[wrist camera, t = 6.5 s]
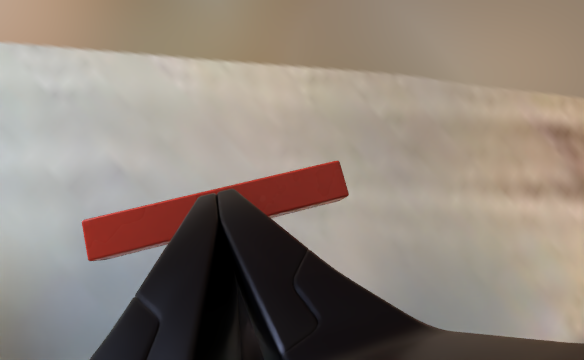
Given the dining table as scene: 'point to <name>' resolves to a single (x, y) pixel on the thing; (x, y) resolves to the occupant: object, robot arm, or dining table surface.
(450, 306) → the dining table surface
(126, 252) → the lever
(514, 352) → the robot arm
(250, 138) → the dining table surface
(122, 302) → the dining table surface
